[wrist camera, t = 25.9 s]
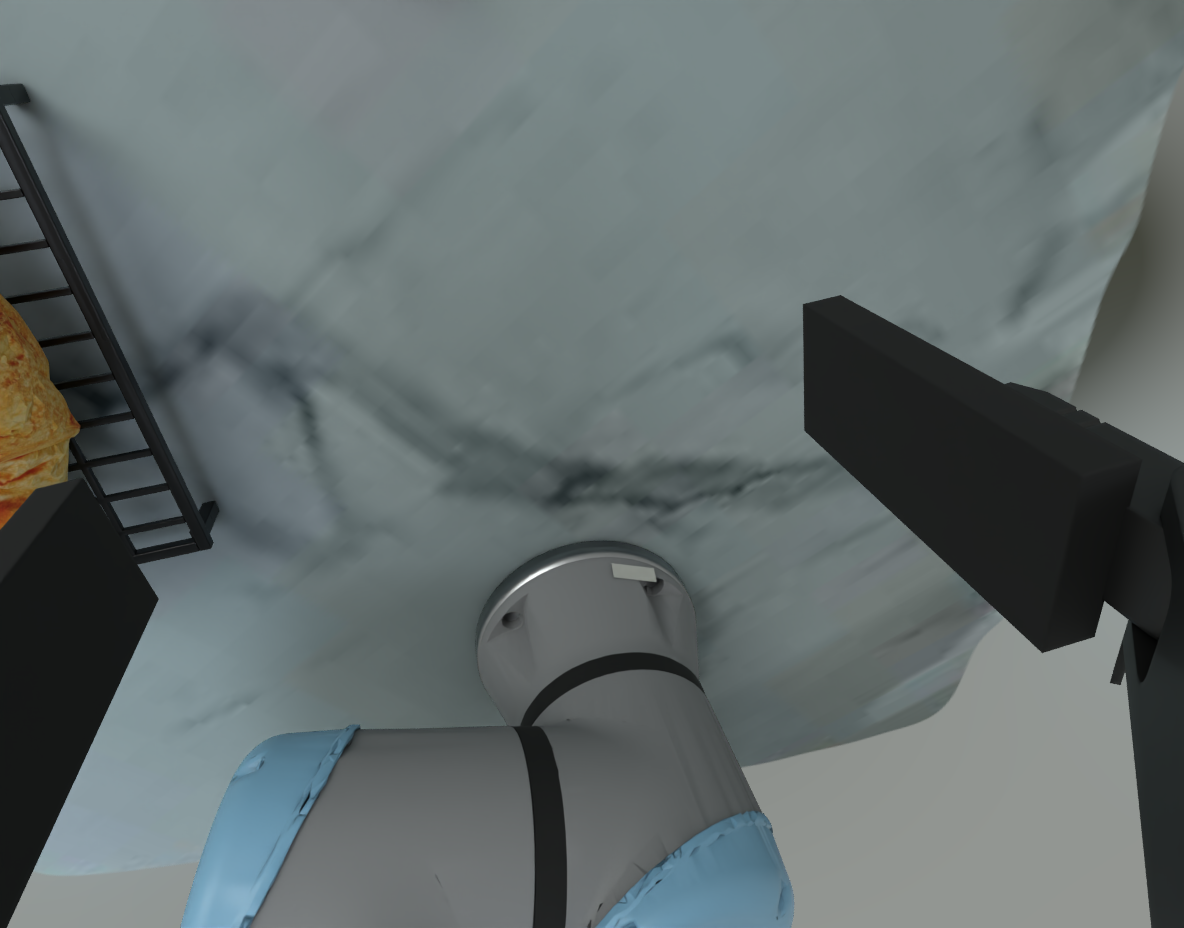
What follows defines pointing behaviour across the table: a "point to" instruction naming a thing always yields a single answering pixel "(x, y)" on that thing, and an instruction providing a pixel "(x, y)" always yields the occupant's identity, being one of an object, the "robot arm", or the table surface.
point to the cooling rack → (199, 522)
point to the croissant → (28, 417)
